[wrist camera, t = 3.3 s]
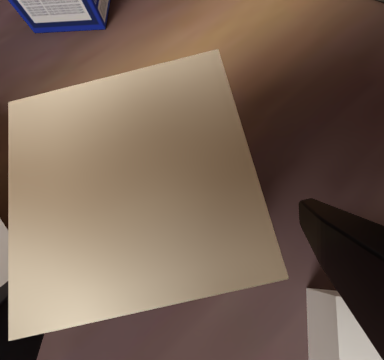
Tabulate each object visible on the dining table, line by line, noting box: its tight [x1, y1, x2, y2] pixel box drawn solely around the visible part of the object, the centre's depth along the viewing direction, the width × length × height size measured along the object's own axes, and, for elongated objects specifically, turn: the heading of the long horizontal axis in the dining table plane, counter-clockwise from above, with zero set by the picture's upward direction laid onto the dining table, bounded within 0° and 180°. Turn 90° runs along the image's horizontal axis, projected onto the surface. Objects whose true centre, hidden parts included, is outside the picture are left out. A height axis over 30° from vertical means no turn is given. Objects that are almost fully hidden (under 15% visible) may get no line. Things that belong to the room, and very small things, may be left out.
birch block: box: [8, 49, 289, 341], centre depth 12 cm, size 5×5×13 cm
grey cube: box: [306, 288, 382, 360], centre depth 13 cm, size 4×4×4 cm
